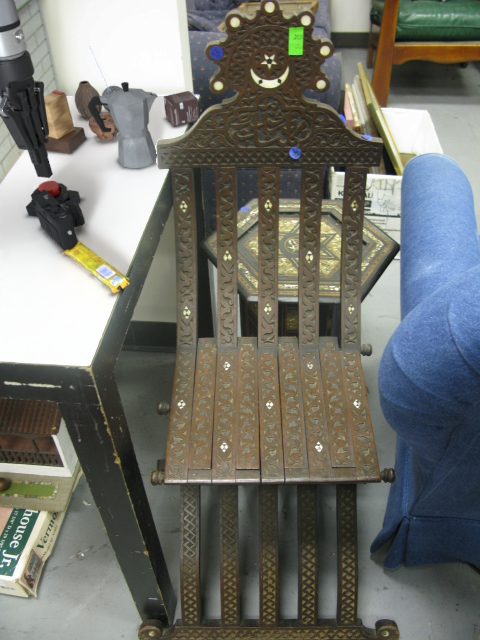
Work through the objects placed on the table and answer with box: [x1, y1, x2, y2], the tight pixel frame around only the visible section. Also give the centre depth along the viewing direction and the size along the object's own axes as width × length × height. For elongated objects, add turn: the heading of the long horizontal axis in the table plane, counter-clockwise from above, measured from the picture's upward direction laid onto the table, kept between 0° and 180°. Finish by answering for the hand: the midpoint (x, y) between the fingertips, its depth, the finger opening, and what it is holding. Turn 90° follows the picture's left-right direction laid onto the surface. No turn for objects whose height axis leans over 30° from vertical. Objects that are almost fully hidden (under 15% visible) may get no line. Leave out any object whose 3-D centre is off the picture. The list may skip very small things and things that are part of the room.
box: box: [163, 90, 200, 128], centre depth 144 cm, size 6×6×7 cm
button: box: [37, 180, 60, 196], centre depth 115 cm, size 4×4×2 cm
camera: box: [30, 189, 86, 252], centre depth 108 cm, size 14×7×8 cm, turn 39°
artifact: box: [88, 112, 119, 141], centre depth 139 cm, size 8×8×5 cm
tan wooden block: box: [44, 89, 75, 139], centre depth 134 cm, size 6×4×9 cm, turn 148°
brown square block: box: [45, 126, 87, 155], centre depth 138 cm, size 8×8×3 cm
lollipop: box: [89, 47, 123, 113], centre depth 142 cm, size 10×20×7 cm
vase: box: [74, 80, 103, 119], centre depth 147 cm, size 7×7×9 cm
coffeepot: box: [88, 81, 159, 169], centre depth 126 cm, size 15×9×18 cm, turn 99°
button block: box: [25, 182, 82, 218], centre depth 117 cm, size 8×8×4 cm
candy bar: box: [61, 240, 130, 295], centre depth 101 cm, size 17×4×2 cm, turn 46°
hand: (45, 175), depth 113 cm, fingers closed
